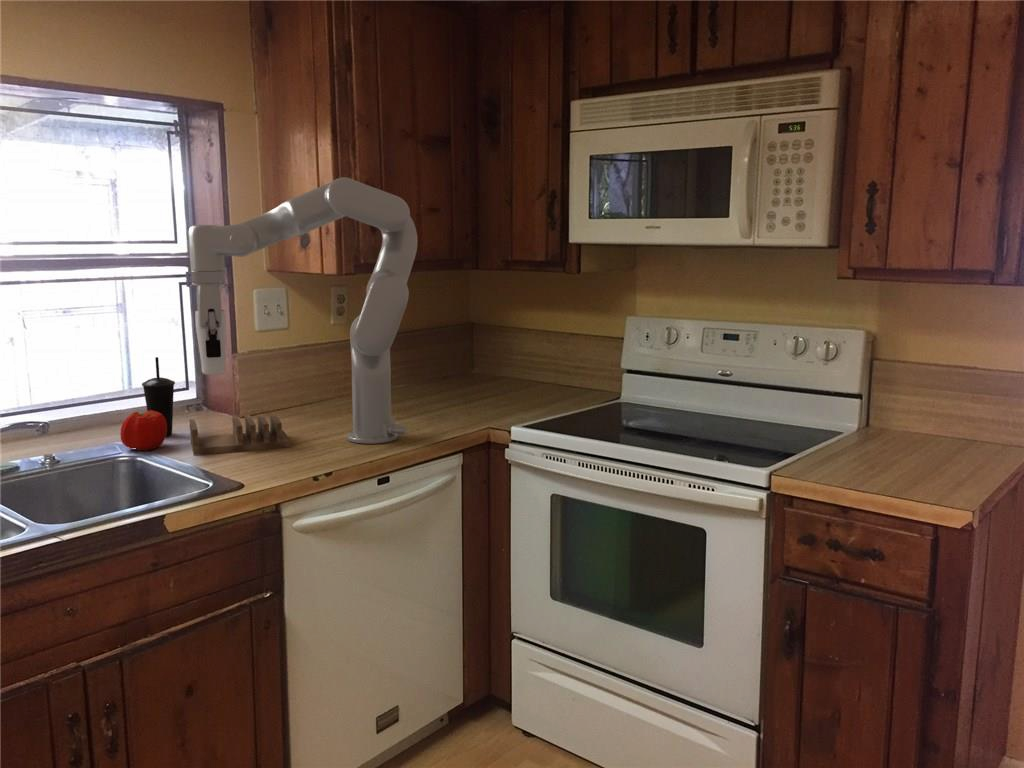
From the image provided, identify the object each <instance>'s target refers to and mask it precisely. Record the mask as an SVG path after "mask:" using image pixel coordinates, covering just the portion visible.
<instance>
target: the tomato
mask: <svg viewBox="0 0 1024 768" xmlns="http://www.w3.org/2000/svg"><path fill="white" fill-rule="evenodd" d="M121 424H122V425H121V428H120V440H121V443H122V445H124V446H125V447H127V448H128V447H129V449H130V448H136V450H139V449H140V450H139V451H142V450H147V451H151V450H153V449H156V448H158V447H159V446H161V445H162V444H163V443H164V441H165V440H166V438H167V437H166V435H167V422H166V419H165V417H164V416H163V414H161V413H159V412H156V411H153V410H150V411H145V412H141V413H140V412H138V411H134V412H132V413H130V415H128V416H127V417H126V418H125V420H124V421H123V422H122V423H121Z"/></svg>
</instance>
